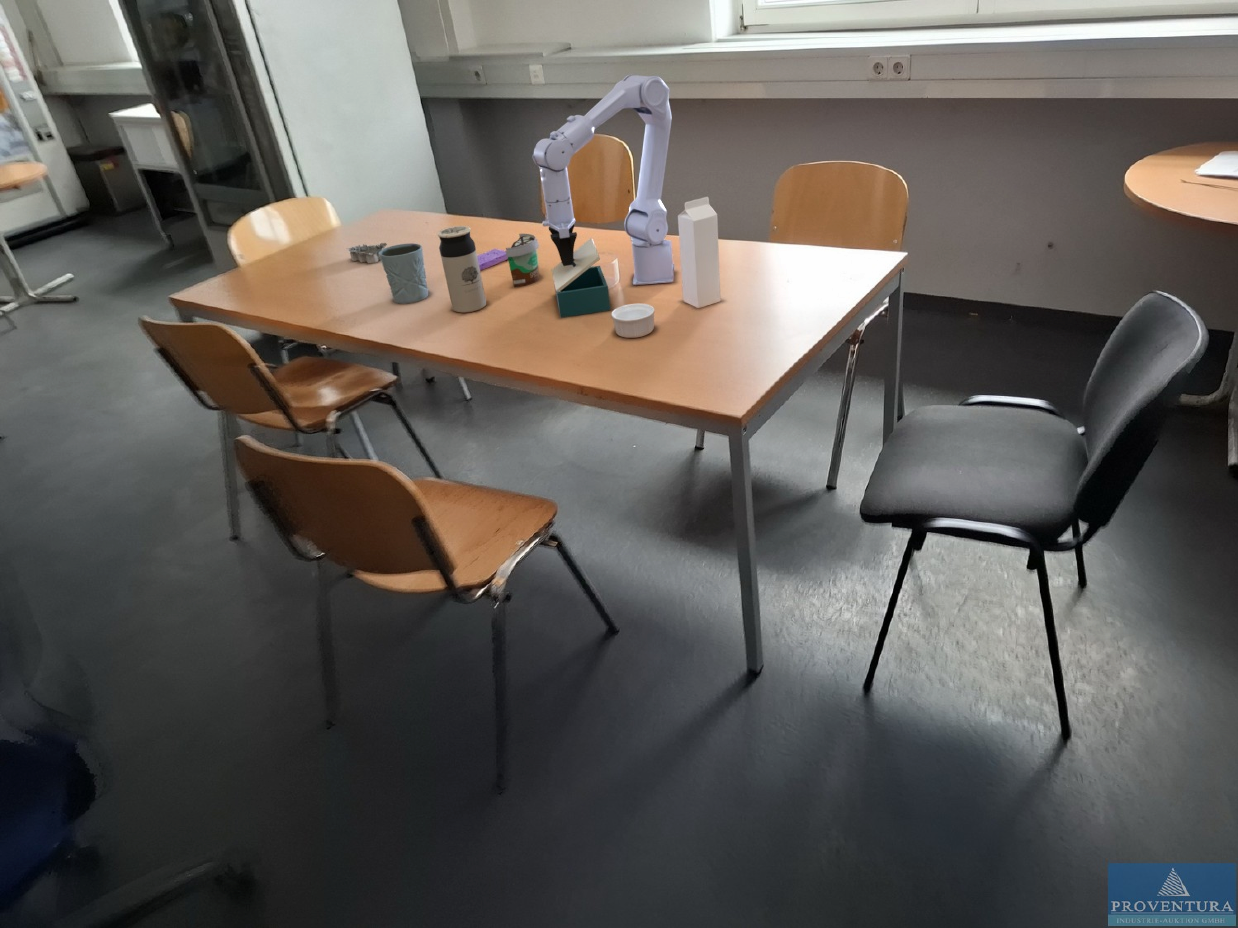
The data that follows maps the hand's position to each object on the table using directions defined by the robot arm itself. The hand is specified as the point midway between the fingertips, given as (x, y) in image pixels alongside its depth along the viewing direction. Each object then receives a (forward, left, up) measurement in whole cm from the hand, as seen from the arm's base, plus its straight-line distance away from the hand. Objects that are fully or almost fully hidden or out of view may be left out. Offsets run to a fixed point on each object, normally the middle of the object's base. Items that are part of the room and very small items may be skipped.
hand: (566, 261), depth 181 cm
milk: (-29, +4, -10) cm, 31 cm away
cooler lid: (-2, 0, -1) cm, 2 cm away
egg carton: (+65, -48, -10) cm, 81 cm away
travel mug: (+25, -3, -10) cm, 27 cm away
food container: (+13, -19, -10) cm, 25 cm away
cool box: (-2, 0, -10) cm, 10 cm away
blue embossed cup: (+42, -13, -10) cm, 45 cm away
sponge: (+28, -35, -10) cm, 46 cm away
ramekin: (-15, +18, -10) cm, 26 cm away
